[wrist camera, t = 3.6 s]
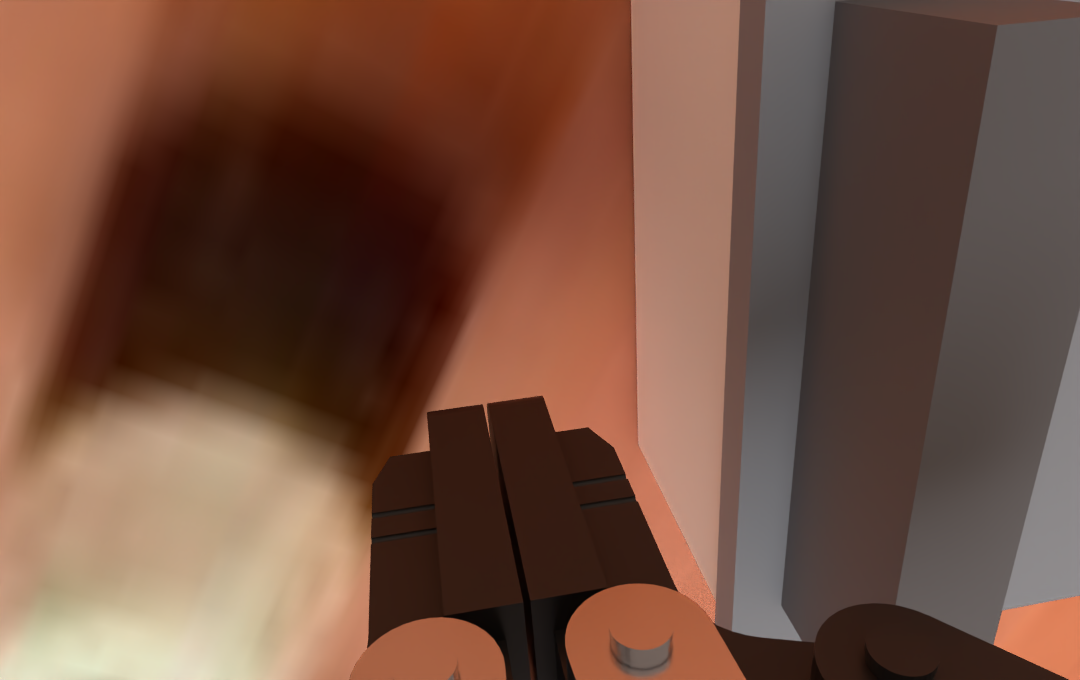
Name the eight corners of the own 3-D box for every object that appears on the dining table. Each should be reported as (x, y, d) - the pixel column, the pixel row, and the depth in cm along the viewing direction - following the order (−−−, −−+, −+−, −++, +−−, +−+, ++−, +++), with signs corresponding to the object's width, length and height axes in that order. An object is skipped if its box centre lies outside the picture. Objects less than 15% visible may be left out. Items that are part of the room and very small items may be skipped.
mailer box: (629, -78, 16) (755, -85, 10) (1355, -134, 17) (1778, -165, 12) (638, 444, 21) (723, 616, 16) (1190, 358, 23) (1432, 485, 18)
